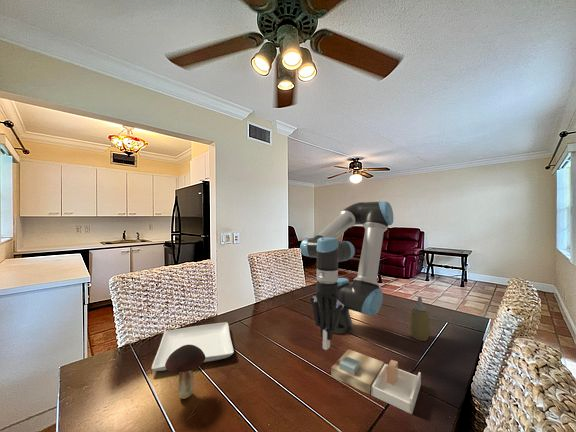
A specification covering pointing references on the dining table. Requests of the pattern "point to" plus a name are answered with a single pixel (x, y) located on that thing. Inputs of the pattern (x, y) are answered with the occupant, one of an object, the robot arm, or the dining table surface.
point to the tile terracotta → (392, 372)
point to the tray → (397, 389)
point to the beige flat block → (363, 375)
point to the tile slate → (349, 365)
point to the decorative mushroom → (185, 367)
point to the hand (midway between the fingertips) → (326, 347)
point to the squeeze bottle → (420, 321)
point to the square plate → (196, 343)
